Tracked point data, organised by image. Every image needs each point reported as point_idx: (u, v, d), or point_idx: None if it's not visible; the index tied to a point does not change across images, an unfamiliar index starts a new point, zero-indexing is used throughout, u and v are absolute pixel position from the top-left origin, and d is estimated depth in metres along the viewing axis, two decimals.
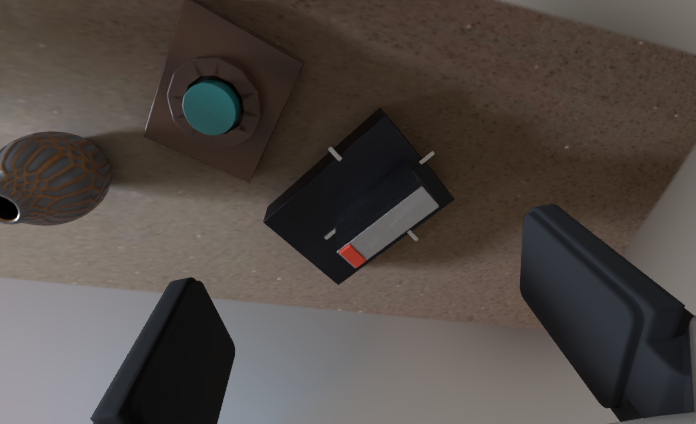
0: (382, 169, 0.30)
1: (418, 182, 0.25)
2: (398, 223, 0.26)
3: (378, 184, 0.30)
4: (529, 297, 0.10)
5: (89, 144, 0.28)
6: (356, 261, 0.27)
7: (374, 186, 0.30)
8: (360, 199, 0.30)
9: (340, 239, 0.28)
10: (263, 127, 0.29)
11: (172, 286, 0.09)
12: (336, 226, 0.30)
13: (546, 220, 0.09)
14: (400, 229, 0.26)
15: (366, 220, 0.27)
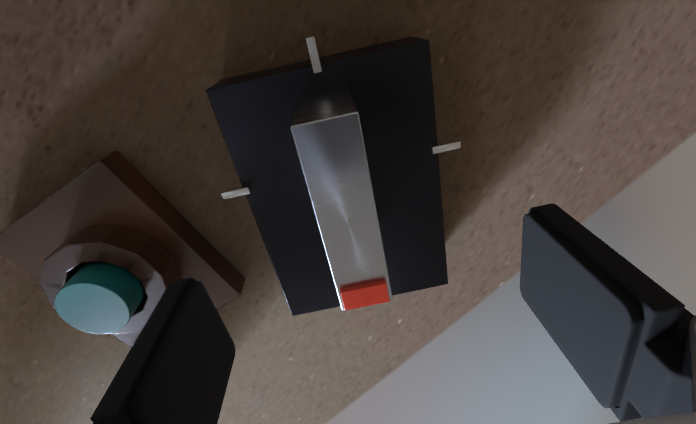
0: None
1: (292, 122, 0.12)
2: (346, 202, 0.12)
3: None
4: (529, 298, 0.10)
5: None
6: (376, 295, 0.14)
7: None
8: None
9: None
10: (173, 247, 0.21)
11: (172, 286, 0.09)
12: None
13: (546, 220, 0.09)
14: (363, 204, 0.12)
15: None
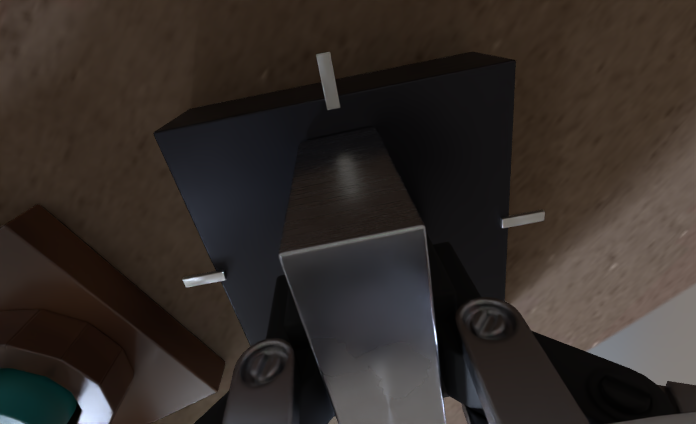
0: None
1: (284, 230, 0.06)
2: (388, 373, 0.07)
3: None
4: None
5: None
6: None
7: None
8: None
9: None
10: (121, 336, 0.15)
11: None
12: None
13: None
14: (418, 374, 0.07)
15: None
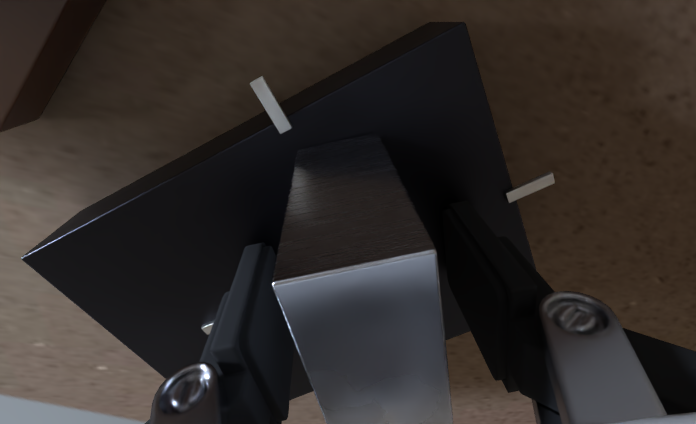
0: None
1: (279, 253, 0.05)
2: (394, 405, 0.06)
3: None
4: (452, 286, 0.11)
5: None
6: None
7: None
8: None
9: None
10: None
11: (248, 249, 0.10)
12: None
13: (456, 215, 0.10)
14: (427, 407, 0.06)
15: None
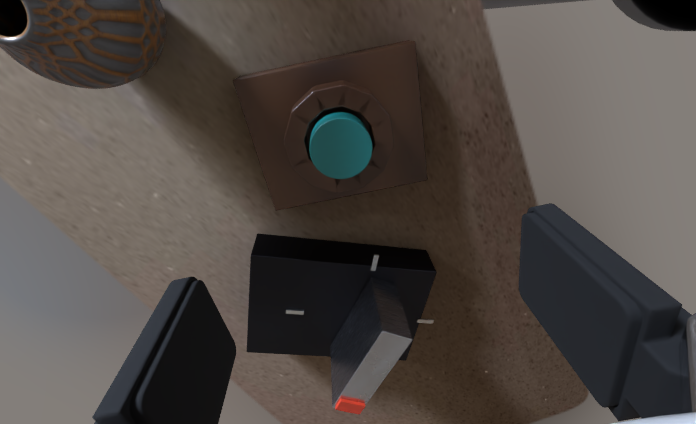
0: None
1: (380, 322, 0.23)
2: (378, 366, 0.23)
3: (354, 308, 0.28)
4: (528, 297, 0.10)
5: (165, 24, 0.19)
6: (355, 409, 0.25)
7: (352, 311, 0.28)
8: (344, 326, 0.28)
9: (334, 387, 0.26)
10: None
11: (173, 285, 0.09)
12: (331, 364, 0.28)
13: (545, 220, 0.09)
14: (384, 370, 0.24)
15: (349, 367, 0.25)
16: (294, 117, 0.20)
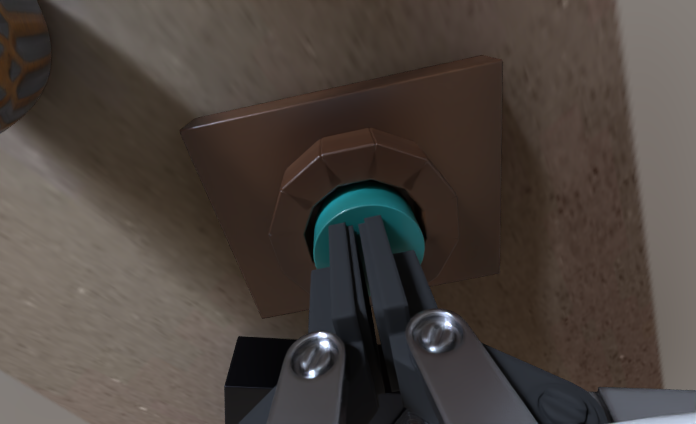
0: None
1: None
2: None
3: None
4: None
5: (42, 35, 0.10)
6: None
7: None
8: None
9: None
10: None
11: (333, 228, 0.10)
12: None
13: (366, 230, 0.10)
14: None
15: None
16: (286, 199, 0.11)
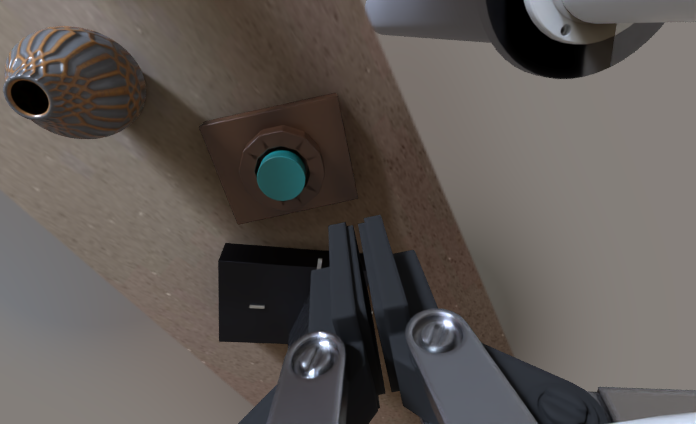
0: None
1: None
2: None
3: (305, 302, 0.34)
4: None
5: (145, 88, 0.25)
6: None
7: (304, 304, 0.34)
8: (298, 317, 0.34)
9: None
10: None
11: (333, 228, 0.10)
12: (288, 348, 0.34)
13: (366, 230, 0.10)
14: None
15: None
16: (245, 155, 0.27)
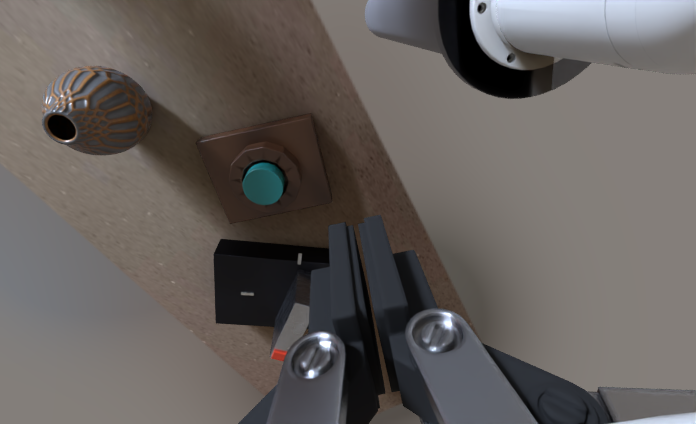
0: None
1: (295, 298, 0.34)
2: (296, 327, 0.35)
3: (288, 291, 0.39)
4: None
5: (151, 112, 0.31)
6: None
7: (287, 292, 0.40)
8: (283, 304, 0.40)
9: (272, 344, 0.38)
10: None
11: (333, 228, 0.10)
12: None
13: (366, 230, 0.10)
14: (301, 330, 0.35)
15: (280, 329, 0.37)
16: (234, 166, 0.32)
